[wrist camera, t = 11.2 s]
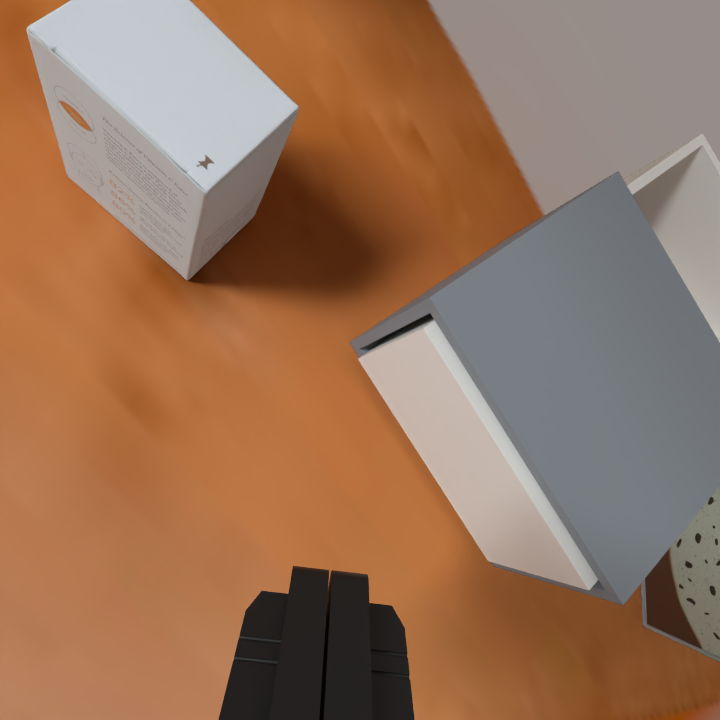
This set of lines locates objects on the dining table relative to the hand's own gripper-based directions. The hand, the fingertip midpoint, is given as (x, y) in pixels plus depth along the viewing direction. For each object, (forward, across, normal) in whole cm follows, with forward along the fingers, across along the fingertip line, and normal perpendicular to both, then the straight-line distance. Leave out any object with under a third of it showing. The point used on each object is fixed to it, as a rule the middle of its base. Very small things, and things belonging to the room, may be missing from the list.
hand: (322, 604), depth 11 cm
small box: (+22, +10, -5) cm, 25 cm away
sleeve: (+24, -11, +4) cm, 26 cm away
